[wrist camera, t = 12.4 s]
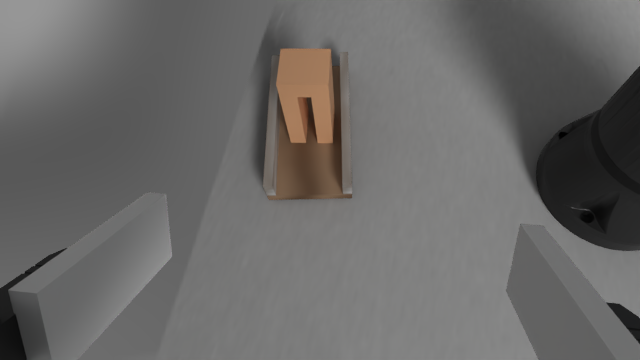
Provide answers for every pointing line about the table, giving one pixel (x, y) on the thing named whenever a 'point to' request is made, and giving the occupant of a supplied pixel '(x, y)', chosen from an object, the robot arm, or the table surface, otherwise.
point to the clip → (306, 92)
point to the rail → (309, 147)
